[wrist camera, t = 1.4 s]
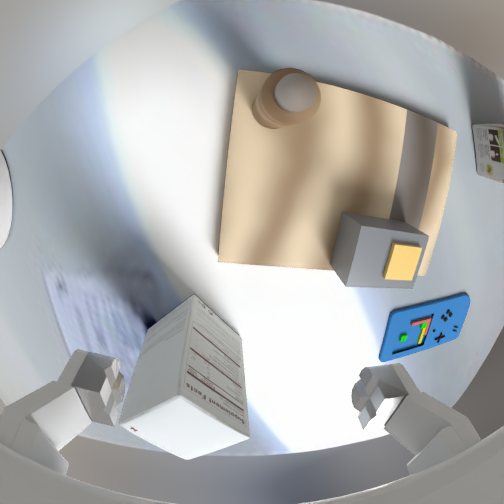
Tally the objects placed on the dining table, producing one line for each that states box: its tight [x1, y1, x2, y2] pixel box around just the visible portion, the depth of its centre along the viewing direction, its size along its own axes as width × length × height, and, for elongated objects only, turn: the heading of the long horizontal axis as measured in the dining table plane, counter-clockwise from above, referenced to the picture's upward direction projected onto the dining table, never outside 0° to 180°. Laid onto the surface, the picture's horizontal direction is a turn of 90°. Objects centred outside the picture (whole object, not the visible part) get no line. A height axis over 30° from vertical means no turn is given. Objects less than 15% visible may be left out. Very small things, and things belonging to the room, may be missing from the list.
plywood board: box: [218, 69, 457, 276], centre depth 23 cm, size 22×16×1 cm
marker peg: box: [252, 68, 321, 129], centre depth 16 cm, size 3×3×8 cm
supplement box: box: [119, 295, 250, 460], centre depth 22 cm, size 7×7×13 cm
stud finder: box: [330, 212, 429, 289], centre depth 22 cm, size 7×5×4 cm
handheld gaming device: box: [379, 294, 470, 362], centre depth 31 cm, size 8×1×15 cm
